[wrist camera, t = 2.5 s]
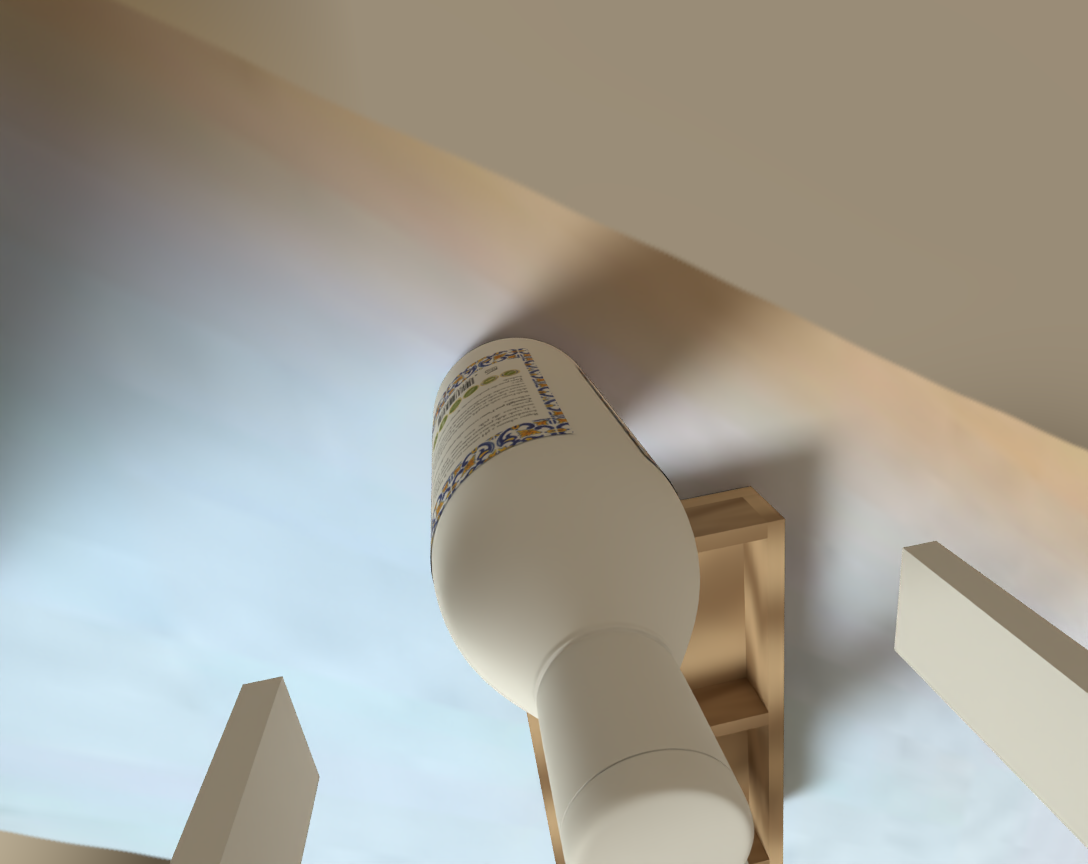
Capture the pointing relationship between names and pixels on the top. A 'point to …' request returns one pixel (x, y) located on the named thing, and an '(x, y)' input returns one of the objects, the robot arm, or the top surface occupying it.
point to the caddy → (732, 656)
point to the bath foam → (580, 604)
